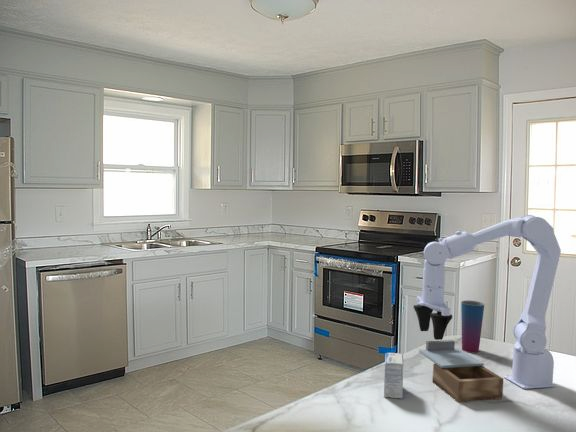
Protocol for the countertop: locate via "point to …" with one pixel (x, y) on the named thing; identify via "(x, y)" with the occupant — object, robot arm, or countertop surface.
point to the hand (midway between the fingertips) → (431, 334)
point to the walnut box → (468, 383)
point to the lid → (448, 355)
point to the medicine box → (393, 375)
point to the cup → (471, 324)
